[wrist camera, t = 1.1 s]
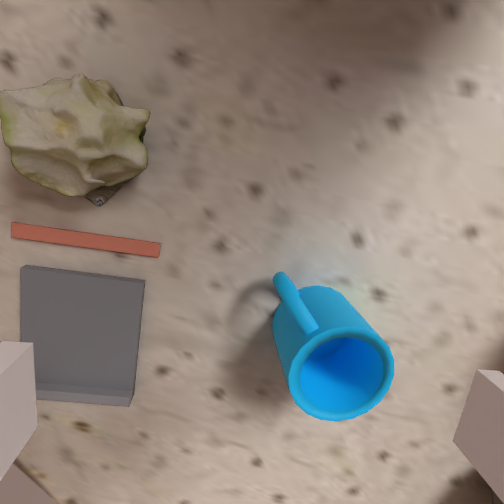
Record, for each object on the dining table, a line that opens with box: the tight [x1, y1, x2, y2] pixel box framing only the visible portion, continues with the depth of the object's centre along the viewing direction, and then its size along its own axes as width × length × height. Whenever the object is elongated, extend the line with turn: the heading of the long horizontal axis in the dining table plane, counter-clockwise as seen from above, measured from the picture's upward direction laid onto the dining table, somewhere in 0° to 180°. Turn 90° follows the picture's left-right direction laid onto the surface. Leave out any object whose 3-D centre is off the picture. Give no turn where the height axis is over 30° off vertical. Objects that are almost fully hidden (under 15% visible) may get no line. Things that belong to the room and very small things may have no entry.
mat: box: [21, 265, 145, 407], centre depth 30 cm, size 12×10×2 cm
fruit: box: [0, 73, 150, 206], centre depth 24 cm, size 9×9×8 cm
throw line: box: [11, 222, 161, 257], centre depth 29 cm, size 1×12×1 cm, turn 80°
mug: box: [272, 272, 394, 421], centre depth 29 cm, size 12×8×8 cm
